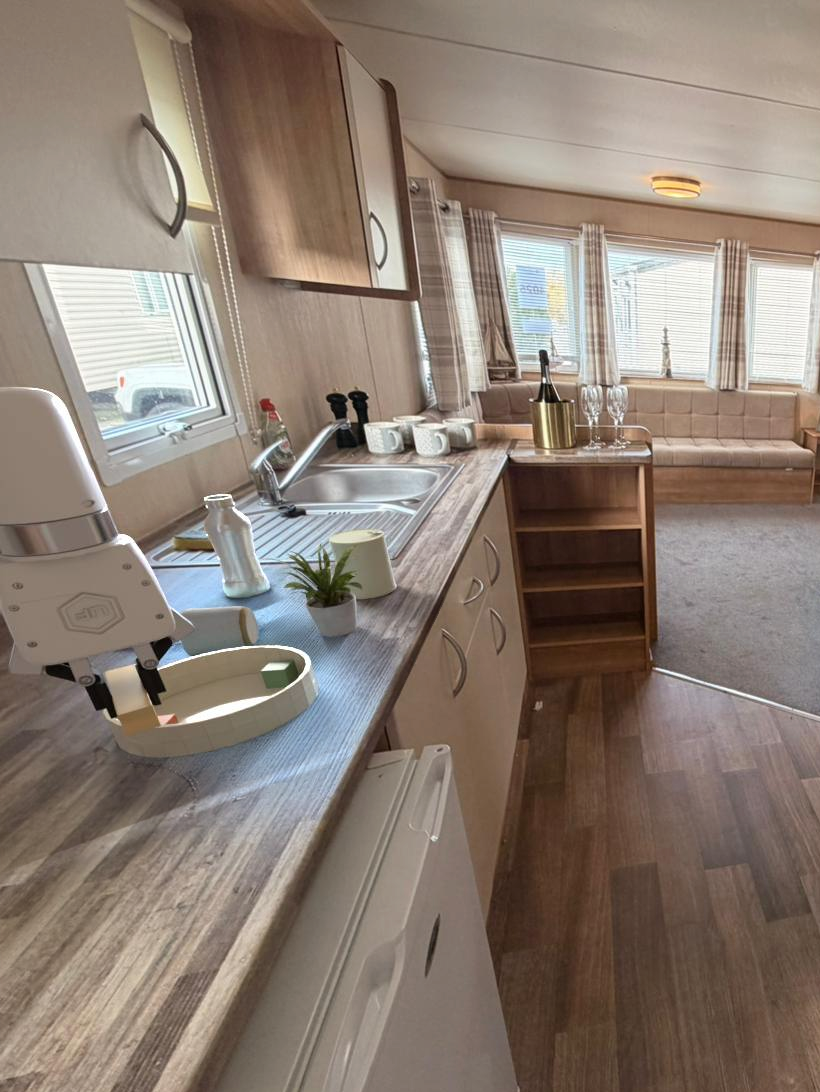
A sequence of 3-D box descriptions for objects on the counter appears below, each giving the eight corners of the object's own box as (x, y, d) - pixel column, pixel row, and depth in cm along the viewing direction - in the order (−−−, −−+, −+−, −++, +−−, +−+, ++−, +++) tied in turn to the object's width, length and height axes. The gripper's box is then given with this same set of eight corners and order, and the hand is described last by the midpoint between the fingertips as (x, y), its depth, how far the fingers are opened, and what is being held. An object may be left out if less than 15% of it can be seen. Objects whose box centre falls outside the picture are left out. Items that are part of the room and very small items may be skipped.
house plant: (273, 661, 101) (242, 566, 95) (284, 626, 112) (256, 538, 105) (379, 643, 108) (356, 553, 102) (379, 612, 119) (359, 529, 112)
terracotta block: (141, 750, 79) (131, 730, 78) (154, 736, 82) (146, 717, 81) (170, 746, 80) (162, 727, 79) (183, 733, 83) (175, 713, 82)
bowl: (72, 746, 81) (55, 712, 78) (238, 665, 100) (228, 637, 98) (210, 773, 77) (196, 739, 75) (355, 685, 96) (347, 656, 94)
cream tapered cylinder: (401, 592, 127) (388, 535, 122) (346, 603, 122) (330, 544, 117) (392, 578, 134) (379, 523, 129) (339, 587, 128) (324, 531, 123)
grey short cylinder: (254, 655, 103) (240, 612, 100) (188, 665, 99) (171, 620, 96) (268, 629, 111) (255, 588, 108) (207, 637, 108) (192, 595, 105)
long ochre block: (161, 726, 62) (152, 705, 61) (127, 736, 60) (117, 715, 59) (144, 682, 68) (135, 663, 67) (112, 691, 67) (103, 671, 66)
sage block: (266, 688, 93) (260, 671, 92) (276, 678, 96) (270, 661, 95) (290, 687, 94) (284, 669, 93) (299, 676, 96) (294, 659, 95)
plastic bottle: (227, 597, 122) (192, 495, 114) (272, 590, 126) (241, 491, 118) (228, 609, 117) (191, 503, 109) (274, 601, 121) (242, 498, 113)
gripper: (-95, 565, 49) (15, 758, 56) (183, 524, 60) (244, 690, 68) (-88, 542, 53) (14, 724, 61) (170, 508, 65) (229, 665, 72)
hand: (134, 705), depth 64 cm, fingers closed on long ochre block, 2 cm apart
